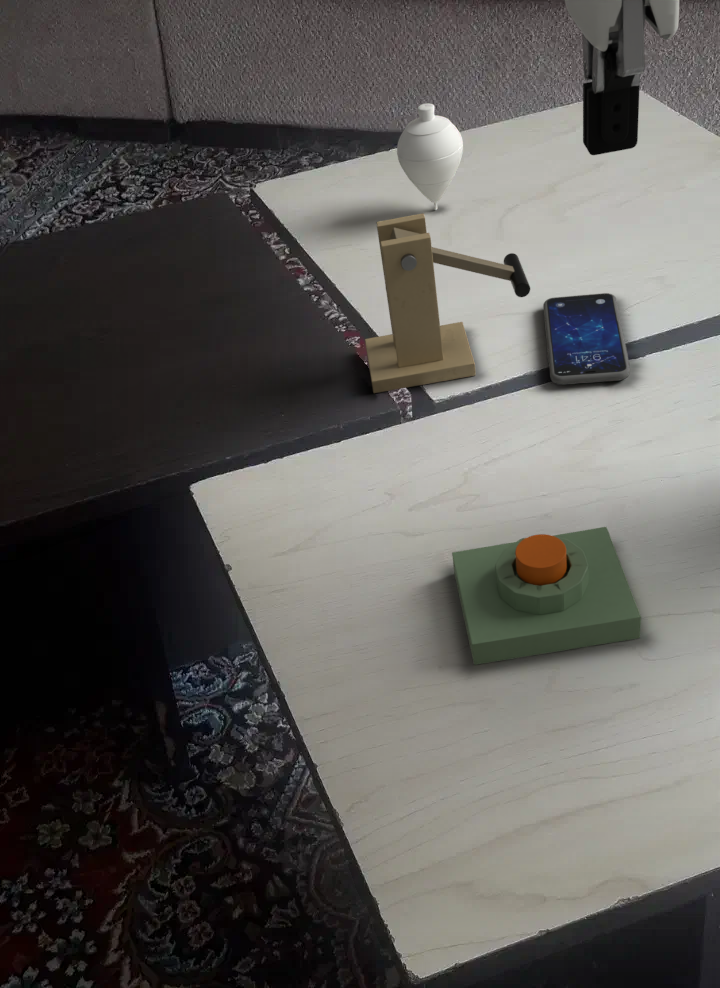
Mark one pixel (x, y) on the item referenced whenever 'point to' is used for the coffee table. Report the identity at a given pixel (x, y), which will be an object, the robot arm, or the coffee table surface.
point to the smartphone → (585, 339)
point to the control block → (545, 600)
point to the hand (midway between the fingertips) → (609, 146)
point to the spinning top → (430, 152)
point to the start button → (541, 559)
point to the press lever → (479, 264)
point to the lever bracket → (414, 316)
